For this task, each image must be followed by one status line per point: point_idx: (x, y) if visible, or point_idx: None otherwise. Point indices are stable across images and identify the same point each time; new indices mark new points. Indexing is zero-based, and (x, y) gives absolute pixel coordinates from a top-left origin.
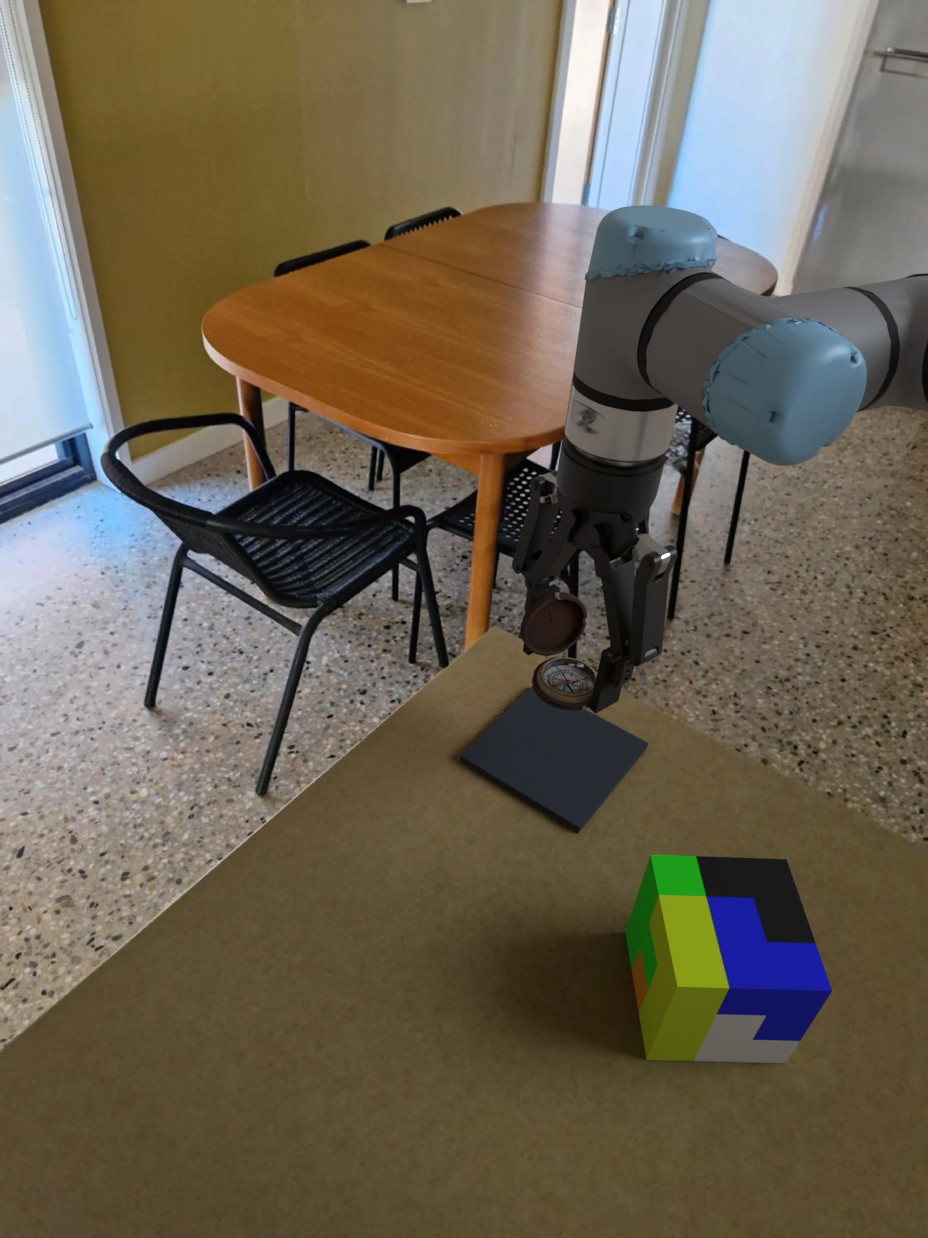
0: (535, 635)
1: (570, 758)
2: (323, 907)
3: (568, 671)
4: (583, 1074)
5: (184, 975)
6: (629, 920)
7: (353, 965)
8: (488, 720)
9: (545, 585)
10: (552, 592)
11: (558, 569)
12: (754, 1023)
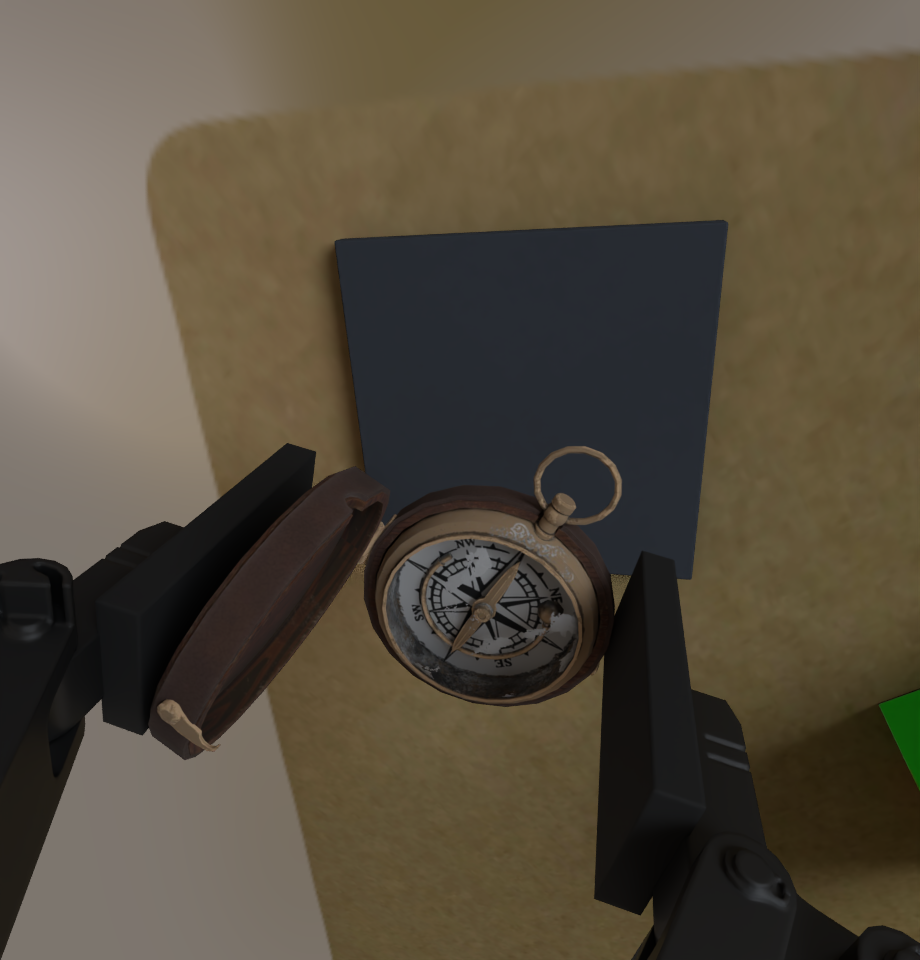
0: (274, 621)
1: (568, 424)
2: (435, 840)
3: (454, 557)
4: (898, 897)
5: (389, 939)
6: (895, 739)
7: (526, 882)
8: (343, 416)
9: (86, 670)
10: (143, 654)
11: (23, 773)
12: None
